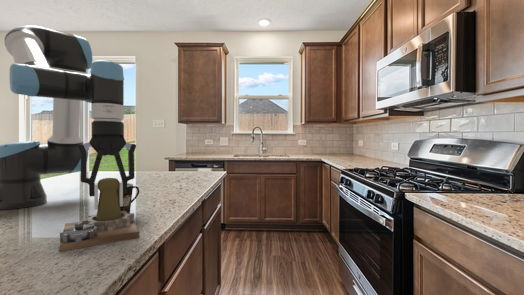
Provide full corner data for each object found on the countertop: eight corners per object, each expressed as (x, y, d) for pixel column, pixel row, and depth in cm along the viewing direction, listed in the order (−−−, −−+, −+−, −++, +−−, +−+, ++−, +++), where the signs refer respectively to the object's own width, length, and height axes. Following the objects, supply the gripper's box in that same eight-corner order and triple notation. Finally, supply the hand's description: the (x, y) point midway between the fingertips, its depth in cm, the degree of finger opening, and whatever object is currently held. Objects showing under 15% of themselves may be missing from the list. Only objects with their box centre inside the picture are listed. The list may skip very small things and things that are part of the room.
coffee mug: (105, 223, 78) (105, 189, 78) (99, 216, 84) (99, 185, 84) (146, 215, 86) (146, 184, 85) (138, 210, 92) (138, 181, 92)
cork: (110, 222, 69) (109, 180, 68) (90, 221, 70) (89, 179, 70) (126, 216, 75) (126, 177, 74) (107, 214, 76) (107, 176, 76)
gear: (61, 235, 64) (61, 222, 64) (96, 230, 68) (96, 217, 68) (58, 245, 58) (58, 231, 58) (97, 239, 62) (97, 225, 61)
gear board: (65, 228, 73) (65, 216, 72) (130, 219, 81) (130, 208, 81) (59, 251, 58) (59, 235, 58) (139, 237, 67) (139, 223, 67)
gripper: (65, 118, 64) (66, 215, 64) (146, 121, 73) (147, 205, 74) (67, 120, 70) (68, 208, 71) (142, 122, 80) (142, 200, 80)
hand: (108, 206), depth 72 cm, fingers closed on cork, 5 cm apart
